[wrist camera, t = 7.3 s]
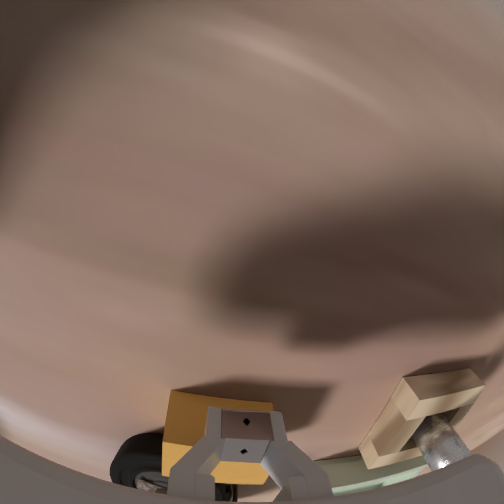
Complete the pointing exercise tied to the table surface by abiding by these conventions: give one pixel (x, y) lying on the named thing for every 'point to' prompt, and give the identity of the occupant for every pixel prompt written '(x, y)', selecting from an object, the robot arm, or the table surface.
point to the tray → (367, 473)
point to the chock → (193, 429)
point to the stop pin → (439, 442)
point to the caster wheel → (152, 468)
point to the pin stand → (418, 413)
